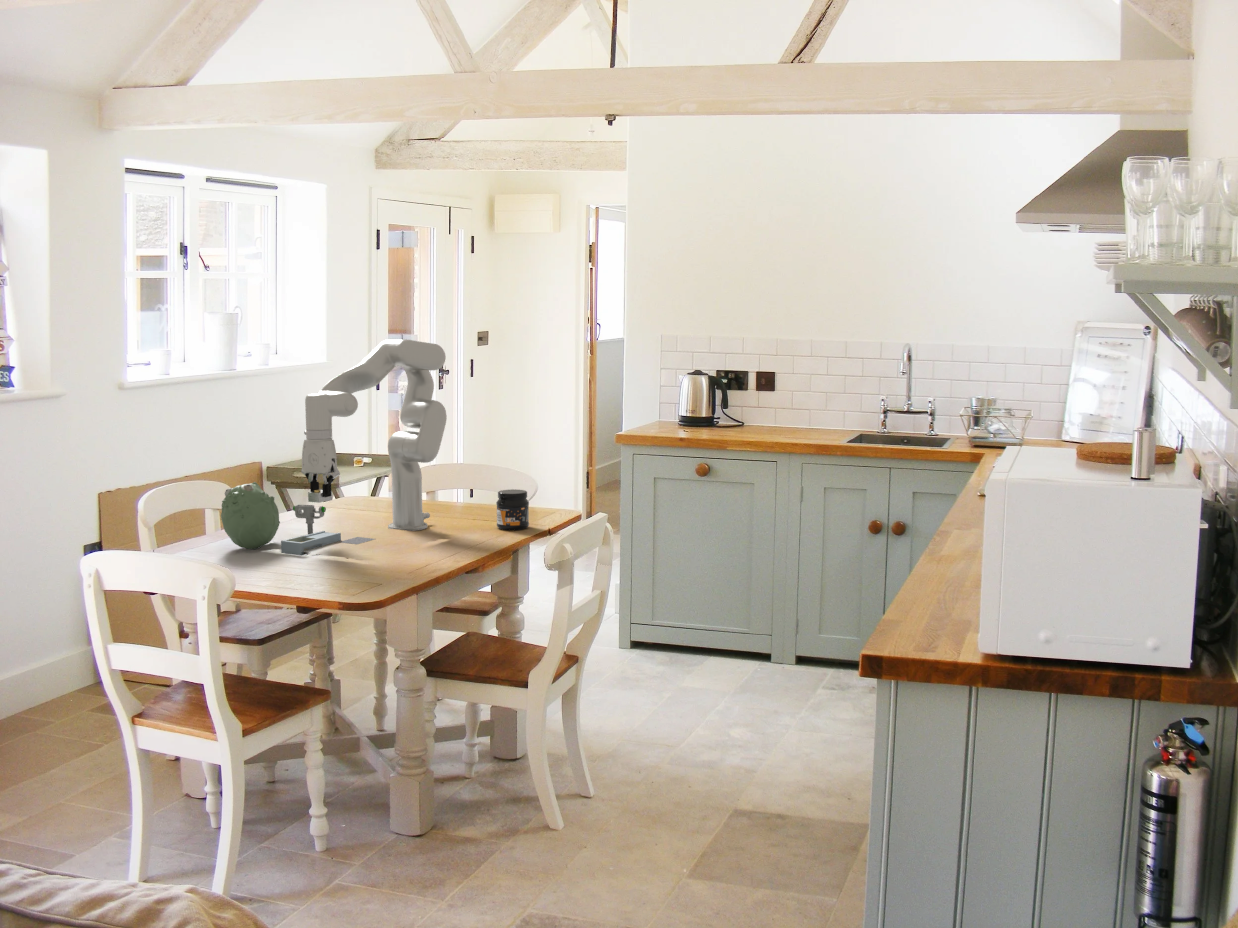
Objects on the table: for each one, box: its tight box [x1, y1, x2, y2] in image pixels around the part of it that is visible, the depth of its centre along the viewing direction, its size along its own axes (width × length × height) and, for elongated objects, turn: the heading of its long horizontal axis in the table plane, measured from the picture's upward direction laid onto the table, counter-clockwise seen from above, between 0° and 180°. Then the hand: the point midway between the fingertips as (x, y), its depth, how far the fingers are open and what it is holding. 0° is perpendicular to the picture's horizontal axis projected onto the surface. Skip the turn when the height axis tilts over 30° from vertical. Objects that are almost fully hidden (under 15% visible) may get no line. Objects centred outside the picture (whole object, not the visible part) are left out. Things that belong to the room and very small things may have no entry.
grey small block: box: [307, 489, 333, 504], centre depth 357 cm, size 6×4×3 cm, turn 154°
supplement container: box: [495, 488, 530, 531], centre depth 388 cm, size 10×10×12 cm
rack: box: [280, 530, 342, 556], centre depth 356 cm, size 18×8×4 cm, turn 153°
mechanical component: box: [292, 504, 327, 535], centre depth 372 cm, size 3×10×10 cm, turn 78°
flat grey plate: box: [339, 536, 375, 545], centre depth 362 cm, size 9×7×1 cm
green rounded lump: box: [220, 481, 281, 550], centre depth 354 cm, size 16×19×20 cm
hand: (320, 495), depth 358 cm, fingers closed on grey small block, 3 cm apart
